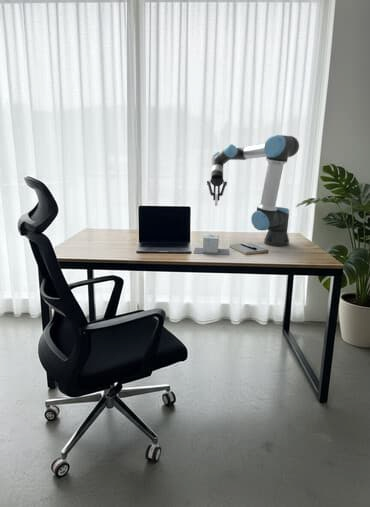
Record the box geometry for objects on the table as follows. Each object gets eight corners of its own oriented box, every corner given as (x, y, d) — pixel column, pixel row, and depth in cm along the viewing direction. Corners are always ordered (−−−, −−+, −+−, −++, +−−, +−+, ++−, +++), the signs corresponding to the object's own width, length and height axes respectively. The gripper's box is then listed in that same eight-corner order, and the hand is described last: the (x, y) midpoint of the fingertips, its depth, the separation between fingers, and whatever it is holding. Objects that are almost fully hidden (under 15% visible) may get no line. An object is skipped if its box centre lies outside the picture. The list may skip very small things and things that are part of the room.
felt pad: (229, 249, 215) (229, 249, 215) (229, 255, 203) (229, 254, 203) (195, 248, 217) (195, 247, 217) (193, 253, 205) (193, 252, 205)
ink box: (218, 248, 216) (217, 253, 205) (204, 247, 217) (202, 252, 206) (219, 233, 214) (218, 238, 202) (204, 233, 214) (202, 238, 203)
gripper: (227, 177, 239) (226, 208, 229) (207, 177, 240) (205, 207, 230) (227, 170, 232) (227, 201, 222) (207, 169, 233) (205, 200, 223)
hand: (216, 204), depth 226 cm, fingers closed
